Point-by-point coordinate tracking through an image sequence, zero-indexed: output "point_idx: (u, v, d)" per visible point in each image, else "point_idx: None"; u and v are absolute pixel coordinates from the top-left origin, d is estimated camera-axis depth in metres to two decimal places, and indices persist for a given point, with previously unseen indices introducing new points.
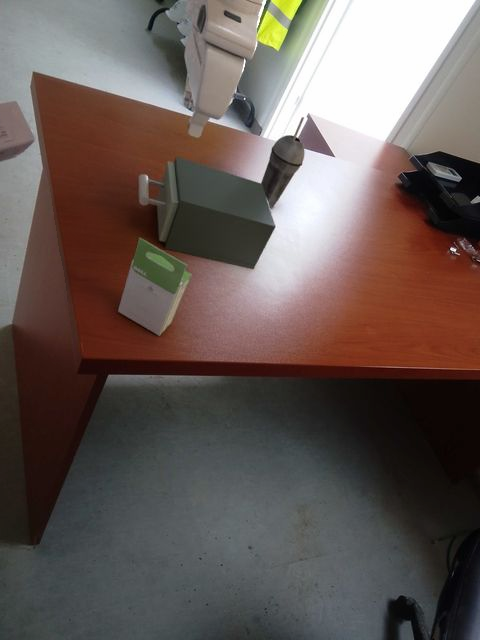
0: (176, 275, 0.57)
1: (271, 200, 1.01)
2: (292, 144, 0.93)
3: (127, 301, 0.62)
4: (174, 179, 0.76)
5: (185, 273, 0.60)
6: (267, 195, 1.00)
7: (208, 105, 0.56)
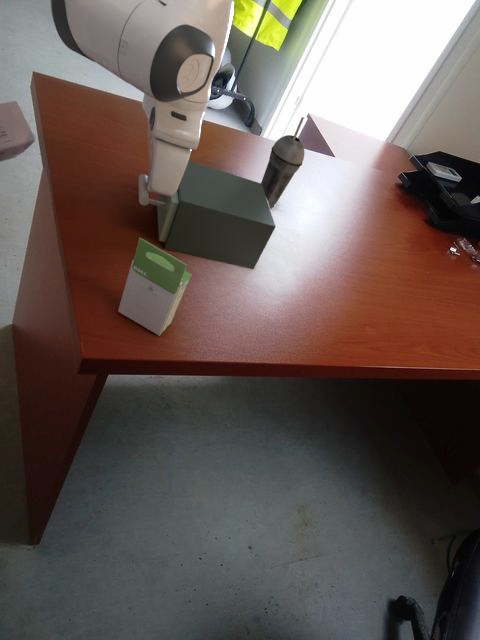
0: (177, 275, 0.57)
1: (271, 200, 1.01)
2: (292, 144, 0.93)
3: (127, 301, 0.62)
4: None
5: (185, 273, 0.60)
6: (267, 195, 1.00)
7: (160, 187, 0.66)
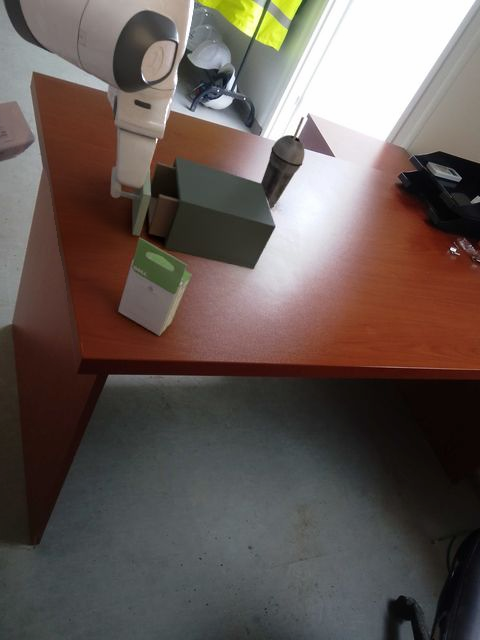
0: (176, 275, 0.57)
1: (271, 200, 1.01)
2: (292, 144, 0.93)
3: (127, 301, 0.62)
4: (148, 171, 0.75)
5: (185, 273, 0.60)
6: (267, 195, 1.00)
7: (127, 178, 0.64)
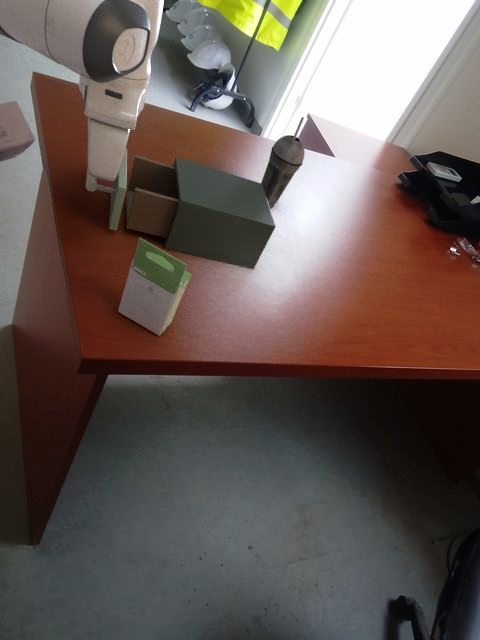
0: (176, 275, 0.57)
1: (271, 200, 1.01)
2: (292, 144, 0.93)
3: (127, 301, 0.62)
4: (124, 165, 0.73)
5: (185, 273, 0.60)
6: (267, 195, 1.00)
7: (99, 170, 0.62)
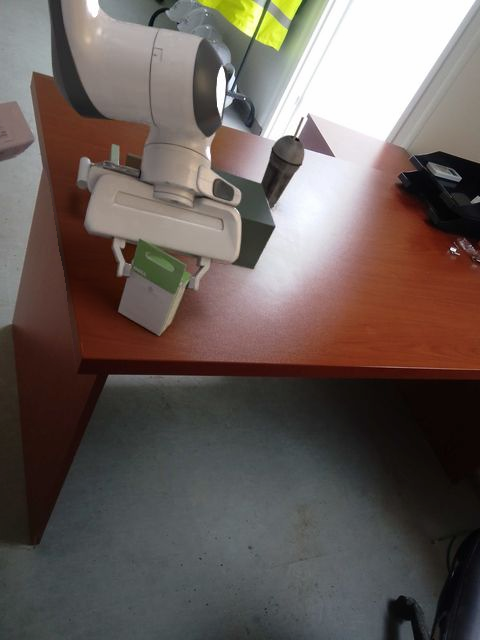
0: (176, 275, 0.57)
1: (271, 200, 1.01)
2: (292, 144, 0.93)
3: (126, 301, 0.62)
4: (116, 162, 0.73)
5: (185, 273, 0.60)
6: (267, 195, 1.00)
7: None
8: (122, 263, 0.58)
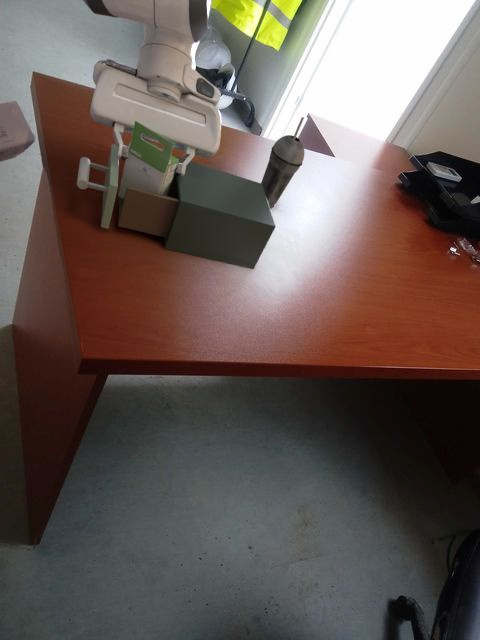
0: (166, 154, 0.69)
1: (271, 200, 1.01)
2: (292, 144, 0.93)
3: (125, 184, 0.75)
4: (116, 162, 0.73)
5: (173, 158, 0.72)
6: (267, 195, 1.00)
7: None
8: (121, 145, 0.70)
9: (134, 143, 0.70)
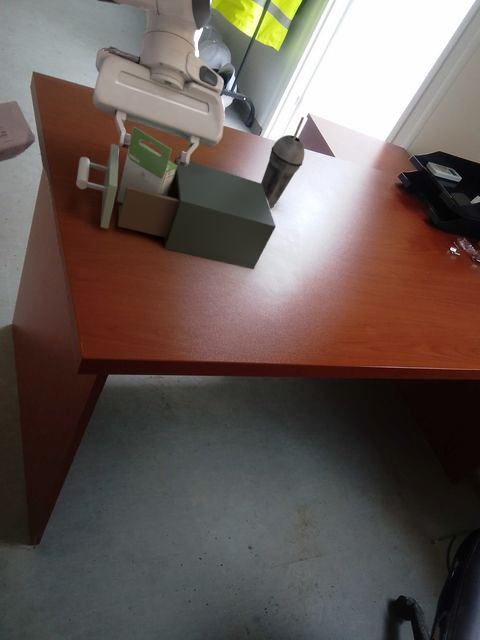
0: (163, 160, 0.70)
1: (271, 200, 1.01)
2: (292, 144, 0.93)
3: (124, 189, 0.76)
4: (116, 162, 0.72)
5: (172, 163, 0.73)
6: (267, 195, 1.00)
7: None
8: (123, 133, 0.70)
9: (133, 148, 0.71)
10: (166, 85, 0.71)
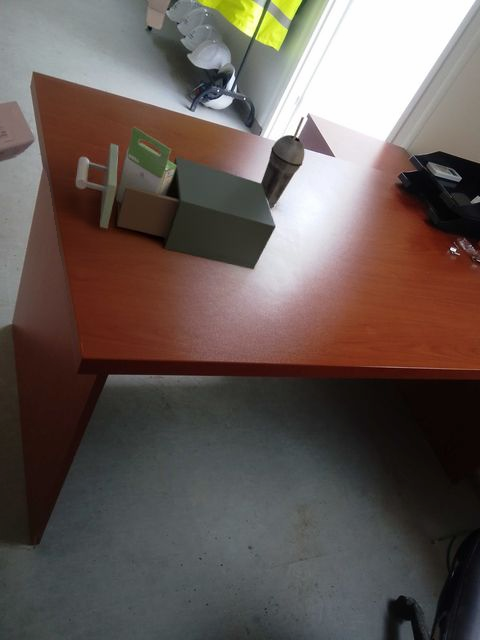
0: (163, 159, 0.70)
1: (271, 200, 1.01)
2: (292, 144, 0.93)
3: (123, 188, 0.75)
4: (115, 162, 0.72)
5: (171, 163, 0.73)
6: (267, 195, 1.00)
7: None
8: None
9: (132, 148, 0.71)
10: None
